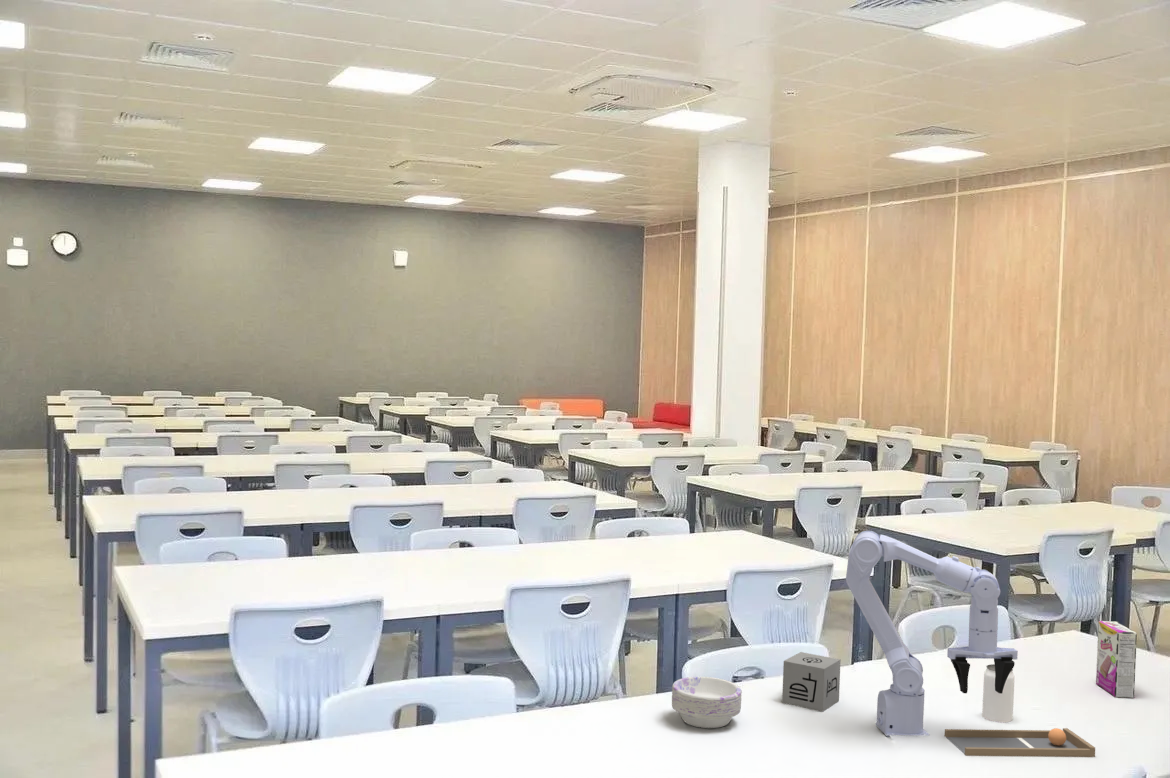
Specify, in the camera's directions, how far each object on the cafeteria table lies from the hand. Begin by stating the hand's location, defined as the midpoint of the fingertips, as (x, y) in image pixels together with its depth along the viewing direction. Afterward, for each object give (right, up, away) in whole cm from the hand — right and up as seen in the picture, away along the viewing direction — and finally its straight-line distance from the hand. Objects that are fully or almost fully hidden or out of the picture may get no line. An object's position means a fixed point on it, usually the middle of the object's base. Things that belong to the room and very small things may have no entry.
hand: (981, 692), depth 236 cm
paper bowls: (-58, -9, +7) cm, 59 cm away
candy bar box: (+47, -11, +39) cm, 62 cm away
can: (+9, -10, +14) cm, 19 cm away
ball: (+13, -8, -3) cm, 16 cm away
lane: (+6, -11, -4) cm, 13 cm away
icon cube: (-32, -9, +23) cm, 40 cm away
